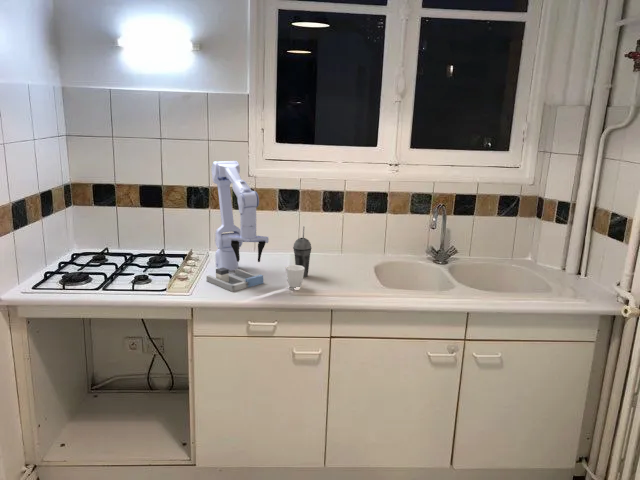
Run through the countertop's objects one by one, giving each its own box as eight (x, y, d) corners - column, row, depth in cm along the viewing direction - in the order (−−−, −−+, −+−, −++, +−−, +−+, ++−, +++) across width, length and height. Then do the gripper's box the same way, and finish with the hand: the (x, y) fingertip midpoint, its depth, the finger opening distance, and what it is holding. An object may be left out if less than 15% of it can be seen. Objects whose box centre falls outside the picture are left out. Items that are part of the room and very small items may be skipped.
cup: (284, 291, 194) (284, 270, 192) (286, 282, 203) (286, 262, 201) (304, 291, 194) (304, 270, 192) (305, 283, 203) (305, 262, 201)
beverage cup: (289, 277, 210) (290, 227, 205) (297, 272, 216) (298, 224, 211) (306, 279, 207) (307, 229, 202) (313, 274, 214) (314, 226, 209)
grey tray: (205, 283, 200) (205, 273, 199) (238, 275, 210) (238, 265, 209) (231, 294, 189) (231, 283, 188) (264, 285, 199) (264, 275, 198)
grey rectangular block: (216, 281, 199) (215, 269, 198) (223, 280, 201) (223, 267, 200) (221, 284, 197) (221, 271, 196) (228, 282, 199) (228, 269, 198)
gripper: (226, 227, 189) (227, 263, 192) (267, 228, 189) (267, 264, 193) (229, 222, 196) (230, 258, 199) (269, 223, 196) (269, 259, 199)
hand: (248, 261), depth 196 cm, fingers open, 7 cm apart
